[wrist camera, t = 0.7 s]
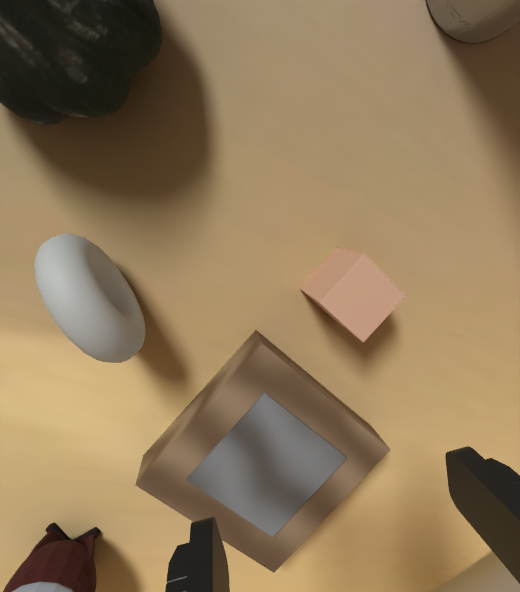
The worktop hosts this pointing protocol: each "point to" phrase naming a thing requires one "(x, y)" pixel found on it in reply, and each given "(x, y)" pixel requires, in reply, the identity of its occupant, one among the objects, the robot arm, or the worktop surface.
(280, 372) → the walnut base
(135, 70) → the squash
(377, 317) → the terracotta block
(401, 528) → the worktop surface
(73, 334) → the donut
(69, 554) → the mate gourd
